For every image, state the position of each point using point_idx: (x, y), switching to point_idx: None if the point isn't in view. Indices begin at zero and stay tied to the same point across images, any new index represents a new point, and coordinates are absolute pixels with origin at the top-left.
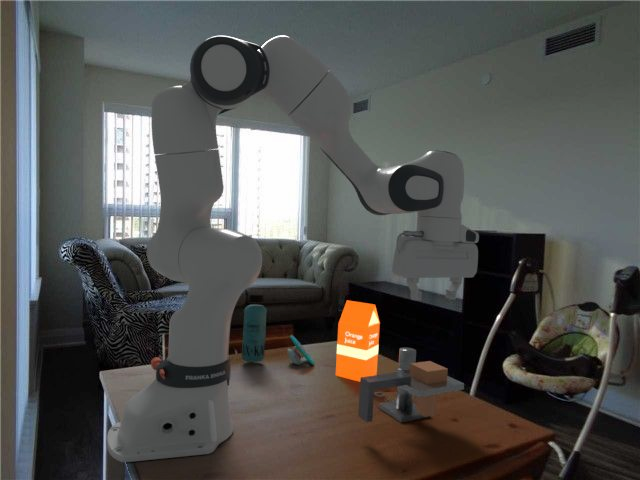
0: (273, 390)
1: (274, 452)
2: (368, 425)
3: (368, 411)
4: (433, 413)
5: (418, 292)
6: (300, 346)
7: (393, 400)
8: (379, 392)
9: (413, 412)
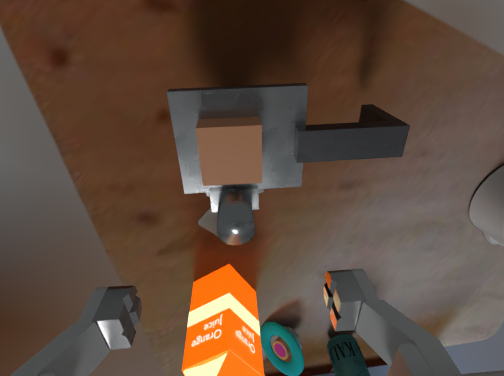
0: (364, 267)
1: (479, 117)
2: None
3: (378, 109)
4: None
5: (364, 298)
6: (287, 352)
7: None
8: None
9: None
